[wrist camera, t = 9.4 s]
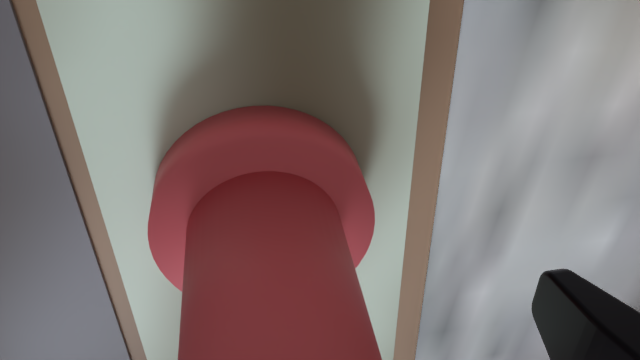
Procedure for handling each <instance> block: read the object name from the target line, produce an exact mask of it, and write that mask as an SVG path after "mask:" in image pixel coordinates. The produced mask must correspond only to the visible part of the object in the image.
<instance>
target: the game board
mask: <svg viewBox="0 0 640 360" xmlns="http://www.w3.org/2000/svg"><path fill="white" fill-rule="evenodd" d="M463 4H464V0H0V360H178V349H179V334H180V319H181V304H182V291H180V290H179V289H178V288H176V287H175V286H174V285H173V284H172V283H171V282H170V281H169V280H168V279H167V278H166V277H165V276H164V275H163V273H162V272H161V271H160V269H159V268H158V266H157V264H156V262H155V261H154V259H153V256H152V253H151V250H150V248H149V241H148V220H149V213H150V207H151V201H152V195H153V188H154V183H155V178H156V174H157V171H158V168H159V166H160V163H161V161H162V160H163V158H164V156H165V154H166V152H167V151H168V150H169V149H170V147H171V146H172V145H173V144H174V142H175V141H176V140H177V139H178V138H179V137H181V136H182V135H183V134H184V133H185V132H186V131H188V130H189V129H190V128H192V127H193V126H194V125H196V124H198V123H199V122H201V121H203V120H205V119H207V118H209V117H211V116H214V115H216V114H219V113H221V112H224V111H228V110H232V109H236V108H241V107H248V106H277V107H285V108H289V109H294V110H298V111H301V112H304V113H306V114H309V115H311V116H313V117H315V118H317V119H319V120H321V121H323V122H324V123H326V124H327V125H329V126H330V127H332V128H333V129H334V130H335V131H336V132H337V133H339V134H340V135H341V136H342V137H343V138H344V140H345V141H346V142H347V144H348V145H349V146H350V148H351V149H352V151H353V153H354V155H355V156H356V159H357V162H358V164H359V167H360V169H361V172H362V174H363V177H364V179H365V182H366V185H367V187H368V190H369V192H370V195H371V198H372V200H373V205H374V211H375V226H374V233H373V237H372V240H371V243H370V246H369V248H368V250H367V252H366V254H365V256H364V257H363V259H362V260H361V262H360V264H359V265H358V266H357V267H356V268H355V270H356V273H357V277H358V280H359V283H360V287H361V290H362V293H363V297H364V300H365V304H366V307H367V310H368V314H369V317H370V320H371V324H372V327H373V331H374V334H375V337H376V341H377V344H378V347H379V351H380V354H381V358H382V360H415V354H416V346H417V339H418V332H419V324H420V317H421V310H422V303H423V295H424V288H425V281H426V274H427V266H428V259H429V252H430V244H431V237H432V230H433V223H434V215H435V208H436V201H437V194H438V186H439V179H440V172H441V164H442V157H443V150H444V143H445V135H446V128H447V121H448V113H449V106H450V99H451V92H452V84H453V77H454V70H455V63H456V55H457V48H458V41H459V33H460V26H461V19H462V12H463Z"/></svg>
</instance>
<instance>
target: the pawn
mask: <svg viewBox="0 0 640 360" xmlns="http://www.w3.org/2000/svg"><path fill="white" fill-rule="evenodd" d="M374 226H375V211H374V205H373V200H372V198H371V195H370V192H369V190H368V187H367V185H366V182H365V179H364V177H363V174H362V172H361V169H360V167H359V164H358V162H357V159H356V156H355V155H354V153H353V151H352V149H351V148H350V146H349V145H348V144H347V142H346V141H345V140H344V138H343V137H342V136H341V135H340V134H339V133H337V132H336V131H335V130H334V129H333V128H332V127H330V126H329V125H327V124H326V123H324V122H323V121H321V120H319V119H317V118H315V117H313V116H311V115H309V114H306V113H304V112H301V111H298V110H294V109H289V108H285V107H277V106H248V107H241V108H236V109H232V110H228V111H224V112H221V113H219V114H216V115H214V116H211V117H209V118H207V119H205V120H203V121H201V122H199V123H198V124H196V125H194V126H193V127H192V128H190V129H189V130H188V131H186V132H185V133H184V134H183V135H182V136H181V137H179V138H178V139H177V140H176V141H175V142H174V144H173V145H172V146H171V147H170V149H169V150H168V151H167V152H166V154H165V156H164V158H163V160H162V161H161V163H160V166H159V168H158V171H157V174H156V178H155V183H154V188H153V195H152V201H151V207H150V213H149V220H148V241H149V248H150V250H151V253H152V256H153V259H154V261H155V262H156V264H157V266H158V268H159V269H160V271H161V272H162V273H163V275H164V276H165V277H166V278H167V279H168V280H169V281H170V282H171V283H172V284H173V285H174V286H175V287H176V288H178V289H179V290H180V291H182V304H181V319H180V334H179V349H178V360H382V358H381V354H380V351H379V347H378V344H377V341H376V337H375V334H374V331H373V327H372V324H371V320H370V317H369V314H368V310H367V307H366V304H365V300H364V297H363V293H362V290H361V287H360V283H359V280H358V277H357V273H356V270H355V268H356V267H357V266H358V265H359V264H360V262H361V260H362V259H363V257H364V256H365V254H366V252H367V250H368V248H369V246H370V243H371V240H372V237H373V233H374Z"/></svg>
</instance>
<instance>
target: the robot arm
mask: <svg viewBox="0 0 640 360" xmlns="http://www.w3.org/2000/svg"><path fill="white" fill-rule="evenodd" d="M532 314H533V317H534V320H535V323H536V325H537V328H538V330H539V332H540V335H541V337H542V340H543V342H544V345H545V347H546V350H547V352H548V355H549V357H550V360H640V313H639V312H638V311H636V310H635V309H633V308H631V307H630V306H628V305H626V304H625V303H623V302H621V301H620V300H618V299H617V298H615V297H613V296H612V295H610V294H608V293H607V292H605V291H603V290H602V289H600V288H598V287H597V286H595V285H594V284H592V283H590V282H589V281H587V280H585V279H584V278H582V277H580V276H579V275H577V274H575V273H574V272H572V271H570V270H568V269H557V270H550V271H545V272H544V273H543V274H542V275H541V276H540V279H539V282H538V285H537V289H536V292H535V295H534V298H533V302H532Z"/></svg>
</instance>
